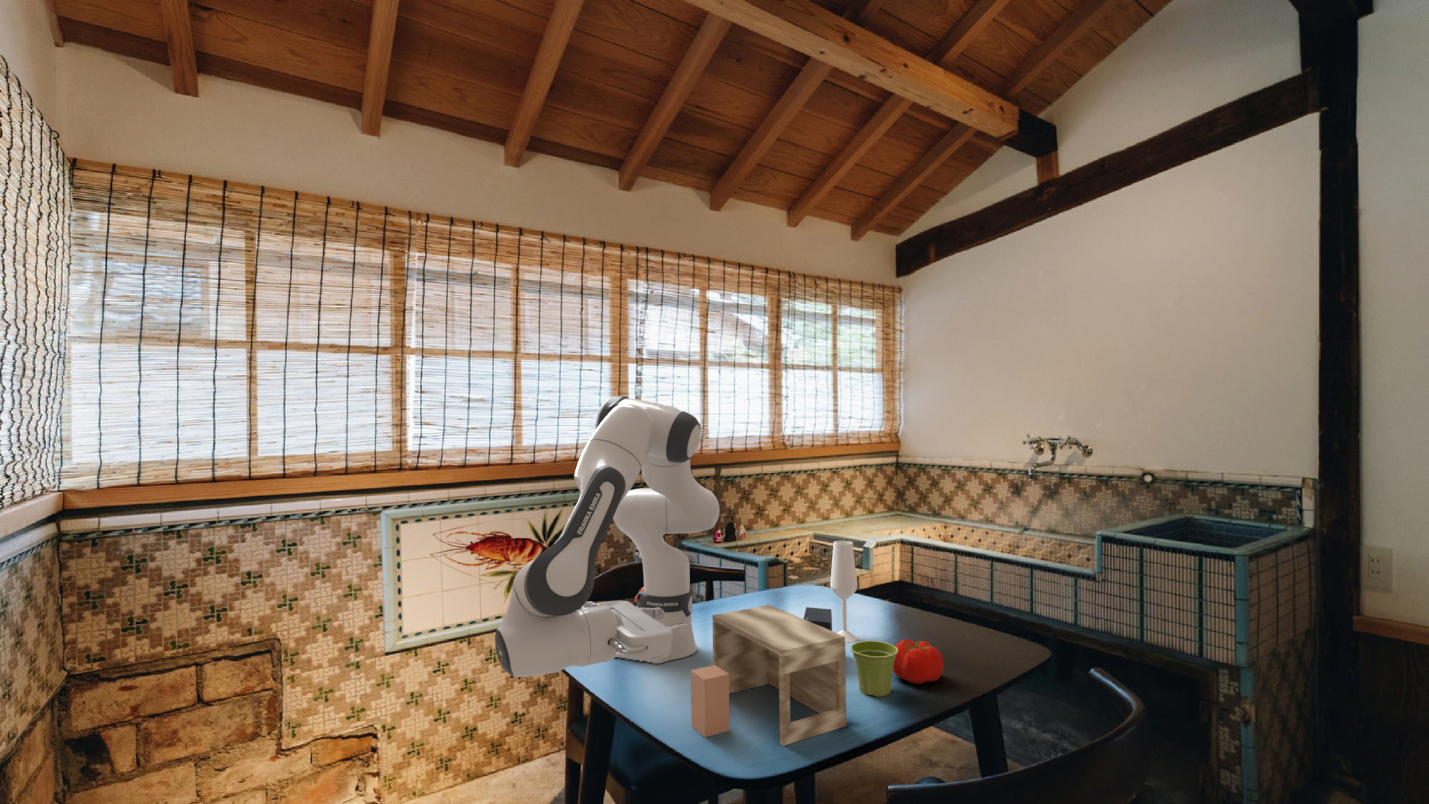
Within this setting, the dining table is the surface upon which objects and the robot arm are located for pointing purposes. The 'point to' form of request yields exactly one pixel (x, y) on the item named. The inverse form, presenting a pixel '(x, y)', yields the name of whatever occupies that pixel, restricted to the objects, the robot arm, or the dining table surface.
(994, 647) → the dining table surface
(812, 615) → the small box
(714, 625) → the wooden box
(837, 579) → the champagne flute
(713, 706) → the terracotta block
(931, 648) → the tomato
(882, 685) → the plant pot
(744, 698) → the dining table surface
